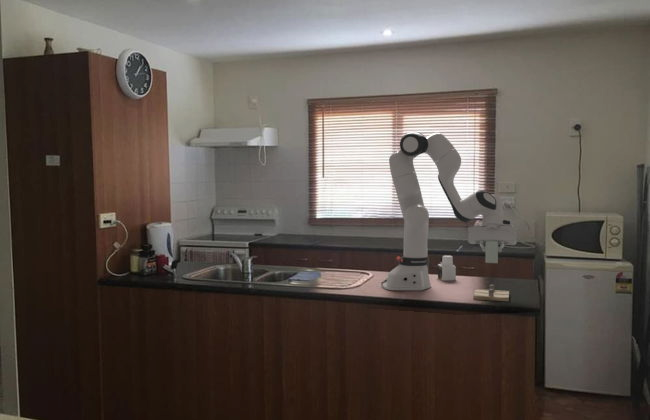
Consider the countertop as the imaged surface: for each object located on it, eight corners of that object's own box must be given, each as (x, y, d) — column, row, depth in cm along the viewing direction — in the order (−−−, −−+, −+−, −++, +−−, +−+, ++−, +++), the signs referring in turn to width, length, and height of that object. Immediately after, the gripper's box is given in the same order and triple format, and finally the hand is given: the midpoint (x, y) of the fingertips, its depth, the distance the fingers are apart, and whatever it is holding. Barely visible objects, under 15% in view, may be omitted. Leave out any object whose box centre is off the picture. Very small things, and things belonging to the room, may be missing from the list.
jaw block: (485, 260, 243) (485, 240, 243) (497, 261, 242) (498, 240, 241) (485, 262, 239) (485, 241, 238) (497, 263, 237) (497, 242, 236)
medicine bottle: (437, 278, 282) (437, 254, 281) (451, 277, 282) (451, 254, 281) (441, 280, 274) (441, 256, 274) (455, 280, 275) (456, 256, 274)
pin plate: (475, 292, 247) (475, 283, 247) (509, 294, 243) (509, 285, 242) (473, 299, 234) (473, 289, 234) (508, 301, 229) (508, 291, 229)
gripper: (468, 221, 249) (466, 245, 240) (516, 221, 243) (516, 247, 234) (468, 230, 253) (467, 254, 245) (516, 231, 247) (516, 256, 238)
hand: (491, 250), depth 239 cm, fingers closed on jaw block, 5 cm apart
